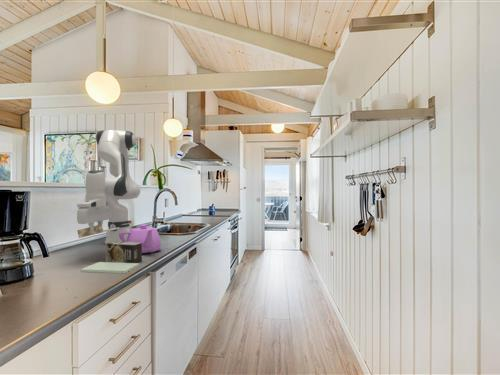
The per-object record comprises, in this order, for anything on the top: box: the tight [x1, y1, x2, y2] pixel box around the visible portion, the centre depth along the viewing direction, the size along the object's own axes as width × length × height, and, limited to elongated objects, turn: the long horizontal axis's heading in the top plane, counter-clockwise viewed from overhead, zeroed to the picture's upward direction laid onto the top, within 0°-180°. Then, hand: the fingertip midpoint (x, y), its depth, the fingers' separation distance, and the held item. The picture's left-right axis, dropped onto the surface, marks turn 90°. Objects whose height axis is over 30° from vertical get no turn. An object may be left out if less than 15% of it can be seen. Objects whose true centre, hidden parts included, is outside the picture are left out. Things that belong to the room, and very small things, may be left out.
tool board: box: [80, 261, 140, 274], centre depth 114 cm, size 11×20×1 cm, turn 84°
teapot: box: [119, 223, 162, 254], centre depth 141 cm, size 23×21×15 cm
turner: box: [77, 224, 119, 239], centre depth 129 cm, size 19×8×4 cm, turn 80°
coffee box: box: [105, 241, 143, 263], centre depth 125 cm, size 9×6×16 cm
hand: (95, 230), depth 129 cm, fingers closed on turner, 3 cm apart
